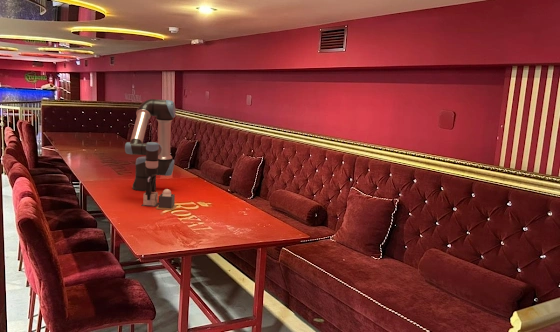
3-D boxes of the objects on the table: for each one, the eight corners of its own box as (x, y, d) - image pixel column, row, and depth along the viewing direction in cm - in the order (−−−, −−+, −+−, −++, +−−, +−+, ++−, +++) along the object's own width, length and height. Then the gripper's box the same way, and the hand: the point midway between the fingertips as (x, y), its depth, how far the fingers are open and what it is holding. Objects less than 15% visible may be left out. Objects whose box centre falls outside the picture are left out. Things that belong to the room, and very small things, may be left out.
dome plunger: (163, 203, 292) (163, 187, 291) (171, 203, 292) (172, 188, 291) (161, 205, 287) (161, 189, 286) (169, 205, 287) (170, 190, 286)
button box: (160, 205, 295) (160, 193, 294) (176, 206, 295) (176, 194, 294) (156, 209, 285) (156, 196, 284) (172, 210, 285) (173, 197, 284)
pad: (145, 202, 299) (145, 201, 299) (159, 203, 299) (159, 202, 299) (141, 205, 290) (141, 205, 290) (155, 206, 290) (155, 206, 290)
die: (146, 202, 298) (146, 191, 296) (157, 203, 298) (157, 192, 296) (143, 204, 291) (143, 193, 290) (154, 205, 291) (154, 194, 290)
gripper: (150, 164, 300) (148, 199, 304) (140, 169, 281) (139, 206, 284) (161, 165, 300) (160, 200, 304) (153, 170, 281) (152, 207, 284)
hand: (150, 203), depth 294 cm, fingers closed on die, 7 cm apart
